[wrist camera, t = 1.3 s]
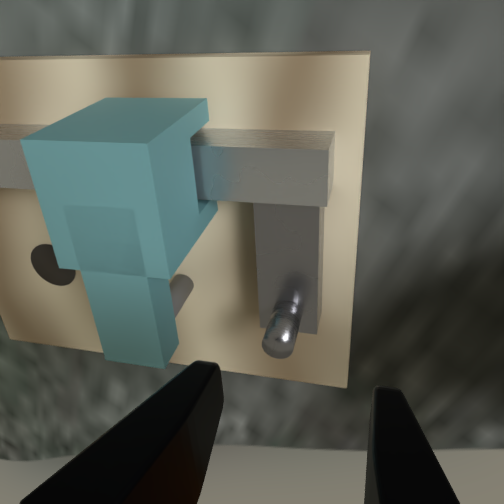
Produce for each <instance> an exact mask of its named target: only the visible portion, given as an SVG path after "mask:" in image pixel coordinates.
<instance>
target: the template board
mask: <svg viewBox="0 0 504 504" xmlns="http://www.w3.org/2000/svg"><path fill="white" fill-rule="evenodd" d="M370 52H371V51H324V52H263V53H203V54H142V55H82V56H22V57H0V124H39V125H51V124H53V123H55V122H57V121H59V120H61V119H63V118H65V117H67V116H69V115H71V114H73V113H75V112H77V111H79V110H81V109H83V108H85V107H88V106H90V105H92V104H94V103H96V102H98V101H100V100H102V99H104V98H207V102H208V112H209V121H208V122H207V123H206V124H205V125H204V126H203V127H202V128H220V129H265V130H310V131H335V152H334V179H333V187H332V191H331V194H330V198H329V202H328V206H327V207H325V210H324V247H323V283H322V312H321V317H320V322H319V327H318V332H317V335H316V334H308V333H299V332H298V334H297V338H296V342H295V346H294V350H293V353H292V354H291V356H289V357H288V358H285V359H276V358H273V357H271V356H269V355H267V354H266V353H265V352H264V350H263V348H262V340H263V337H264V334H265V331H266V328H260V317H259V299H258V282H257V264H256V246H255V228H254V210H253V203H251V202H234V201H217V204H218V211H217V213H216V214H215V215H214V217H213V218H212V220H211V221H210V223H209V224H208V226H207V227H206V228H205V230H204V231H203V233H202V234H201V236H200V237H199V239H198V240H197V241H196V243H195V244H194V246H193V247H192V249H191V250H190V252H189V253H188V254H187V256H186V257H185V259H184V260H183V262H182V263H181V265H180V266H179V267H178V269H177V270H176V272H175V273H174V275H173V276H172V278H171V279H168V280H169V284H170V283H171V281H172V280H173V278H174V277H175V276H176V275H178V274H183V275H186V276H188V277H189V278H191V280H192V281H193V283H194V288H193V290H192V291H191V293H190V295H189V296H188V298H187V300H186V301H185V303H184V305H183V306H182V308H181V310H180V311H179V313H178V315H177V316H176V318H175V321H176V327H177V333H178V339H179V345H178V347H177V348H176V350H175V352H174V354H173V356H172V357H171V359H170V361H169V363H176V364H183V365H190V364H191V363H192V362H194V361H196V360H202V361H209V362H216V363H218V364H219V366H220V370H224V371H231V372H238V373H245V374H251V375H258V376H265V377H272V378H279V379H286V380H292V381H299V382H306V383H313V384H320V385H327V386H333V387H340V388H347V383H348V372H349V357H350V343H351V328H352V314H353V299H354V285H355V270H356V255H357V241H358V226H359V212H360V197H361V183H362V168H363V154H364V139H365V125H366V110H367V96H368V81H369V67H370ZM0 315H1V318H2V320H3V323H4V325H5V328H6V330H7V332H8V335H9V337H10V339H12V340H19V341H26V342H33V343H39V344H46V345H53V346H60V347H67V348H74V349H80V350H87V351H94V352H101V353H103V349H102V346H101V342H100V339H99V335H98V331H97V328H96V324H95V321H94V317H93V314H92V310H91V307H90V303H89V299H88V296H87V292H86V289H85V285H84V282H83V278H82V274H81V271H80V270H73V269H63V268H59V266H58V263H57V259H56V256H55V253H54V249H53V246H52V243H51V240H50V236H49V233H48V230H47V227H46V223H45V220H44V217H43V214H42V210H41V207H40V204H39V200H38V197H37V194H36V191H35V190H31V189H14V188H0Z"/></svg>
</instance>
